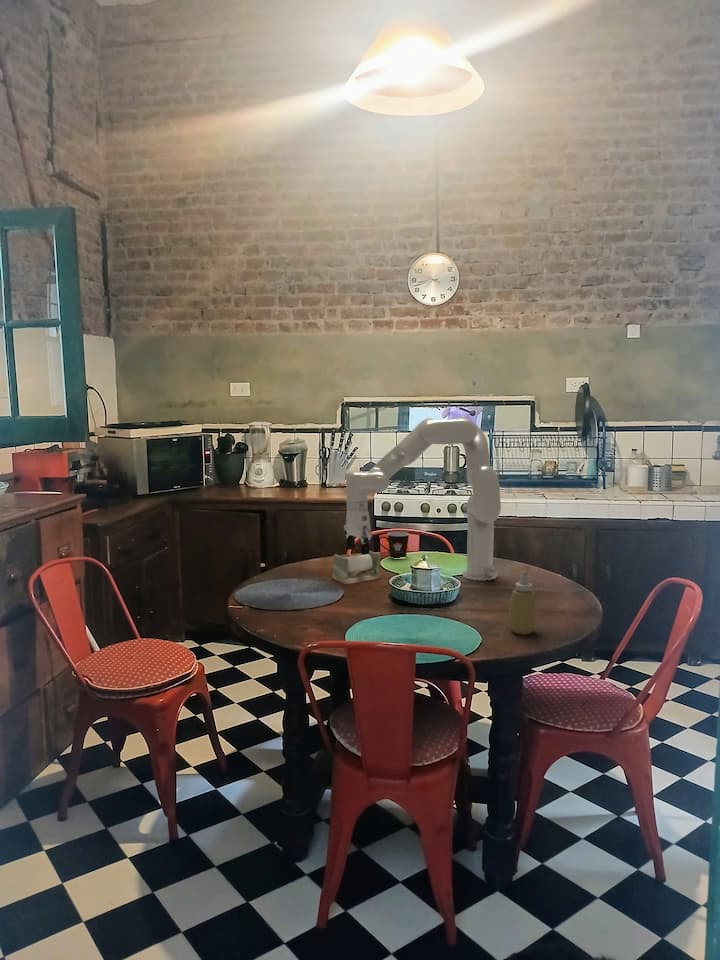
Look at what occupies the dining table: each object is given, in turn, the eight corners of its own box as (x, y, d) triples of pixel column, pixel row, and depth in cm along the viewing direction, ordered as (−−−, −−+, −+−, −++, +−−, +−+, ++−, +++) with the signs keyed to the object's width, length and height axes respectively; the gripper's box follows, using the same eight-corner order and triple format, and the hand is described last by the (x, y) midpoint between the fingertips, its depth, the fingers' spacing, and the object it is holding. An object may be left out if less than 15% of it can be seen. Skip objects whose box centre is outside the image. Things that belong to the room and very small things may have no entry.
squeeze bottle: (532, 626, 221) (534, 568, 218) (539, 636, 213) (542, 575, 210) (505, 626, 221) (507, 568, 218) (511, 636, 213) (513, 575, 210)
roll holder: (366, 572, 279) (367, 549, 278) (380, 578, 272) (380, 554, 271) (332, 578, 271) (332, 554, 270) (345, 584, 264) (345, 559, 263)
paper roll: (364, 568, 276) (364, 552, 276) (372, 571, 271) (372, 555, 270) (340, 572, 271) (340, 556, 270) (349, 575, 266) (348, 559, 265)
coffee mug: (412, 557, 303) (412, 533, 302) (402, 561, 296) (402, 537, 294) (387, 553, 309) (388, 529, 308) (377, 557, 302) (377, 533, 301)
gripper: (379, 507, 262) (379, 554, 265) (353, 501, 277) (354, 545, 279) (361, 510, 258) (362, 558, 261) (335, 503, 273) (336, 548, 275)
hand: (357, 551), depth 270 cm, fingers open, 9 cm apart
